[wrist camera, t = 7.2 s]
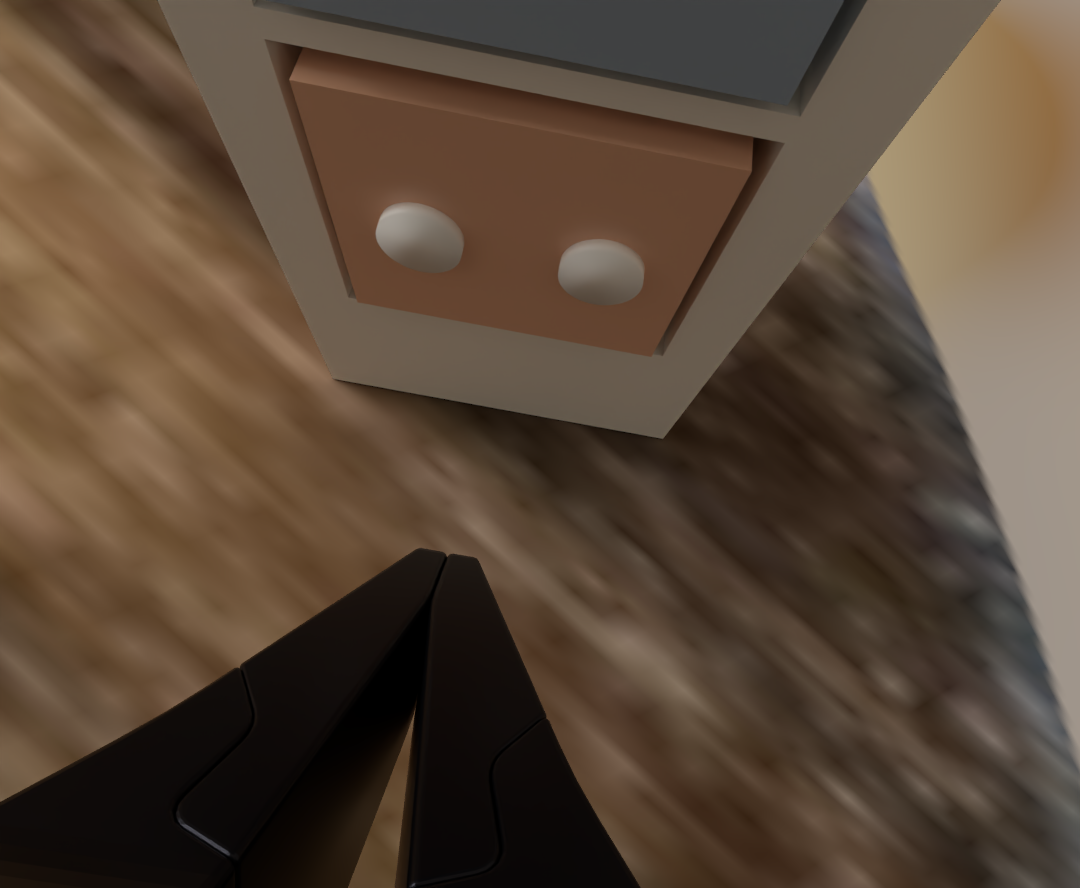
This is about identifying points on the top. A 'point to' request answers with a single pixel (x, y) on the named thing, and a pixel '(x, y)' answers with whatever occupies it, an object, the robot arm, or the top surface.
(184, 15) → the box
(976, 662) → the top surface
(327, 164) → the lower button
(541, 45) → the upper drawer
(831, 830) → the top surface
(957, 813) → the top surface
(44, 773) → the top surface
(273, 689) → the robot arm
